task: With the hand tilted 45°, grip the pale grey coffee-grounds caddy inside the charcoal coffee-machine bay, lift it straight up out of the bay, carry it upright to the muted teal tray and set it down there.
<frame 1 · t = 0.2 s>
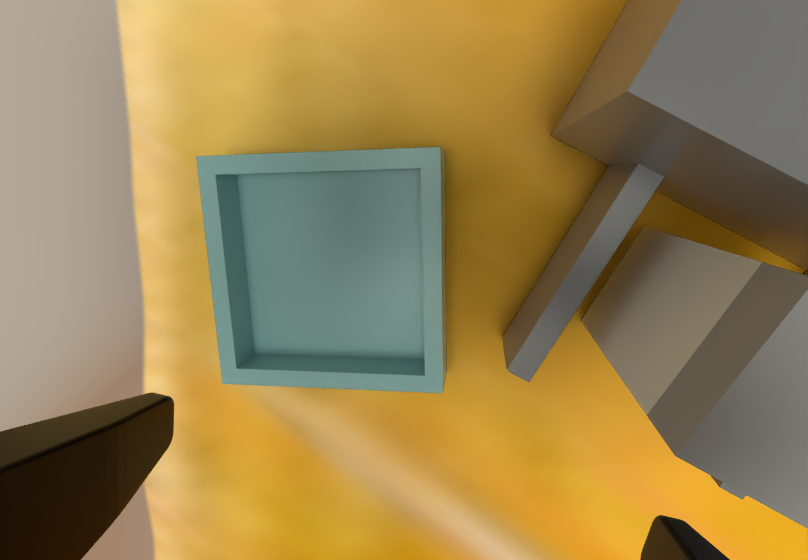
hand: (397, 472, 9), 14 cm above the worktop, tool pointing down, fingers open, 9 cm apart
grounds caddy: (661, 301, 21), on the worktop
teal tray: (337, 265, 23), on the worktop
coffee machine bay: (661, 301, 21), on the worktop
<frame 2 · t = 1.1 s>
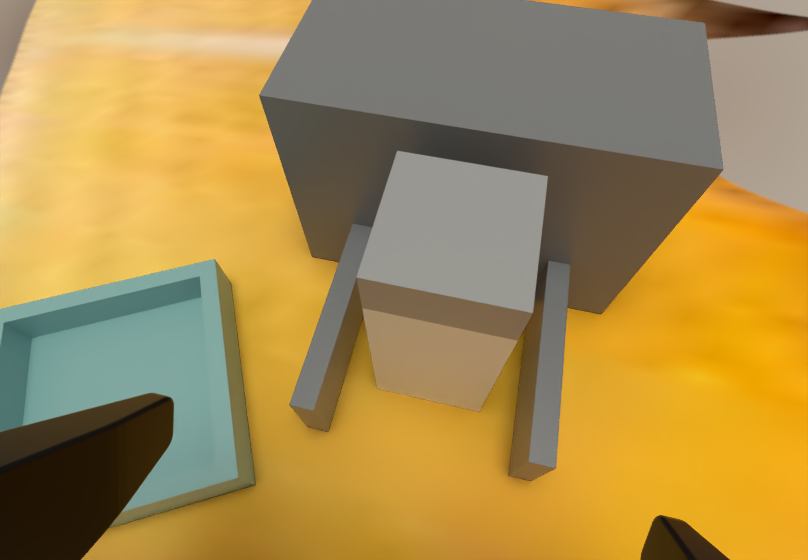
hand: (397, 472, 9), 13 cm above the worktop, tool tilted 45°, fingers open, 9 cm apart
grounds caddy: (437, 352, 24), on the worktop
teal tray: (131, 402, 23), on the worktop
coffee machine bay: (437, 352, 24), on the worktop
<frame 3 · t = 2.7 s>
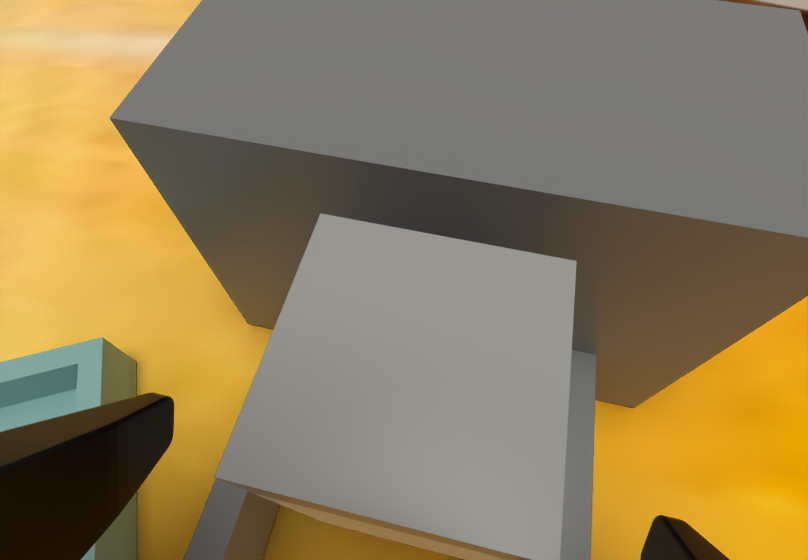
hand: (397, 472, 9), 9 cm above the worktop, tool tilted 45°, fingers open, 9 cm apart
grounds caddy: (410, 465, 17), on the worktop
coffee machine bay: (410, 465, 17), on the worktop
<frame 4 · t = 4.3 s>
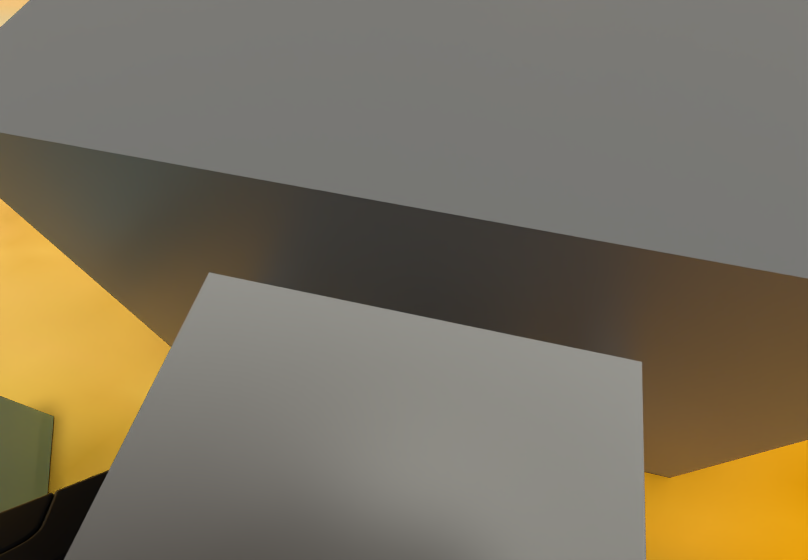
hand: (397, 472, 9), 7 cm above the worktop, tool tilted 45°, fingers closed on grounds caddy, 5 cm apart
grounds caddy: (389, 555, 14), on the worktop, touching gripper
coffee machine bay: (389, 555, 14), on the worktop
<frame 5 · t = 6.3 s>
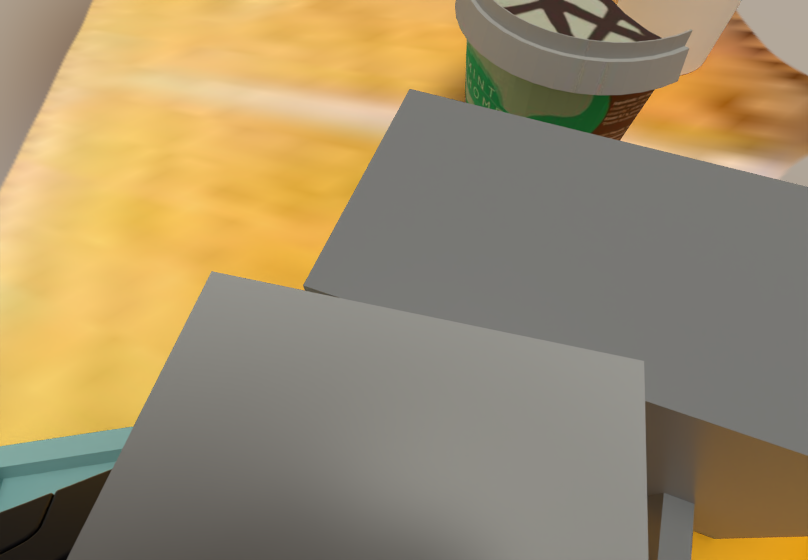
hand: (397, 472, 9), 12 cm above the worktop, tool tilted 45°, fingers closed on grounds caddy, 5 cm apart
grounds caddy: (390, 554, 14), point 6 cm above the worktop, touching gripper
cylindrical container: (653, 46, 35), on the worktop
food container: (501, 155, 29), on the worktop
when the fingers open (9 cm above the worktop, at t = 8.5 s): grounds caddy drops 1 cm, resting on teal tray.
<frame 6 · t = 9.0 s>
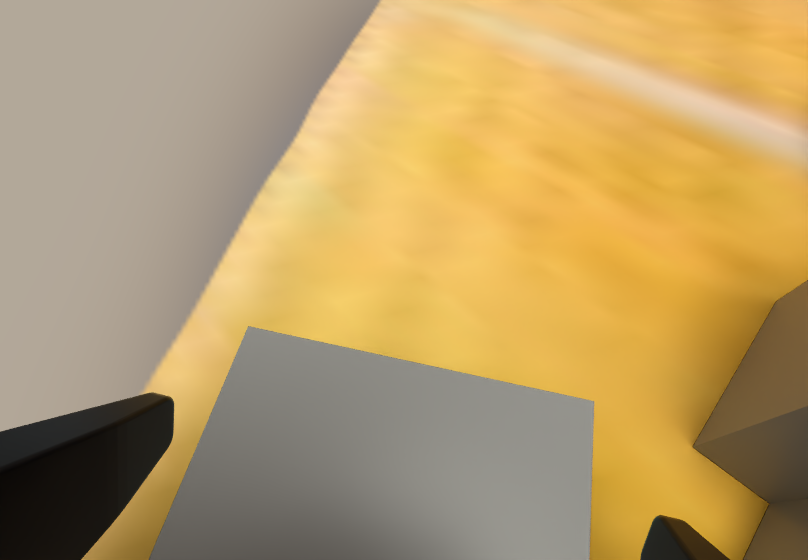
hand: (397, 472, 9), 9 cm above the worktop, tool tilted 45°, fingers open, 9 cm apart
grounds caddy: (391, 554, 15), point 1 cm above the worktop, touching teal tray
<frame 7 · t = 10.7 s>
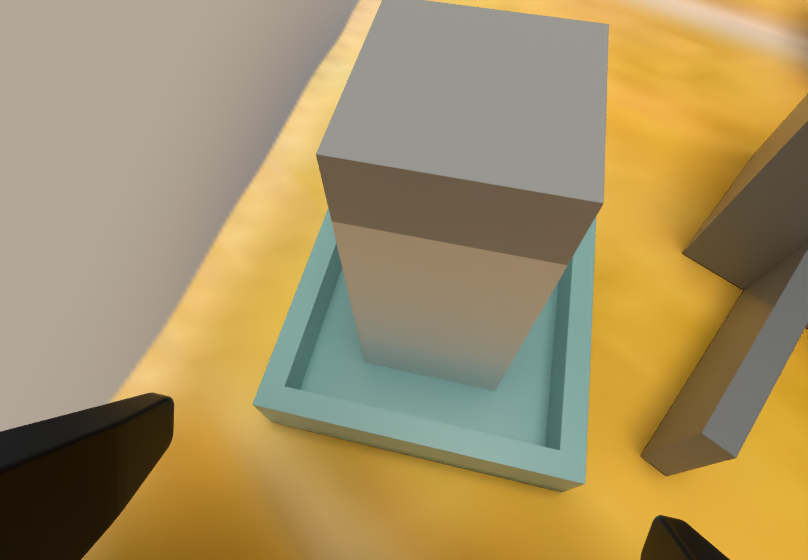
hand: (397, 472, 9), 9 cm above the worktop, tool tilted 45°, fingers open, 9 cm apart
grounds caddy: (440, 317, 19), point 1 cm above the worktop, touching teal tray
teal tray: (439, 323, 19), on the worktop
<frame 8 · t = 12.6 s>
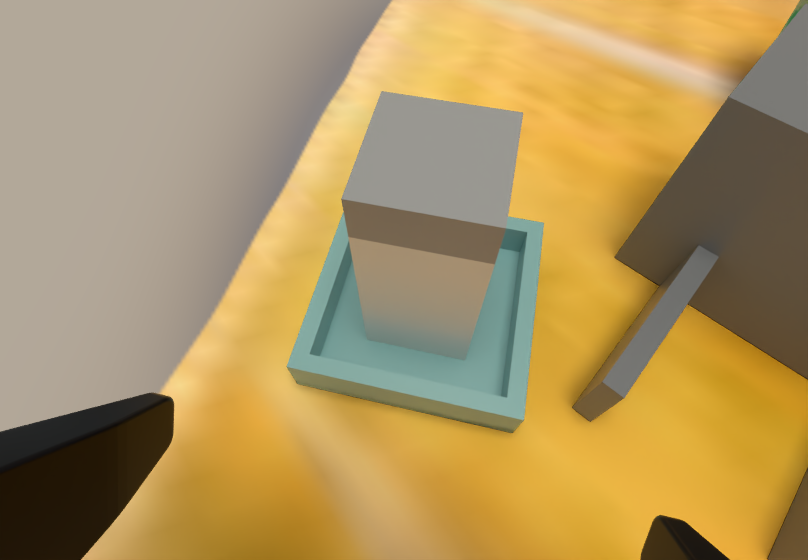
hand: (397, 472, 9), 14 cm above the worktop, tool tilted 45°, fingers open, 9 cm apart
grounds caddy: (425, 306, 25), point 1 cm above the worktop, touching teal tray
teal tray: (424, 311, 25), on the worktop
coffee machine bay: (720, 402, 23), on the worktop
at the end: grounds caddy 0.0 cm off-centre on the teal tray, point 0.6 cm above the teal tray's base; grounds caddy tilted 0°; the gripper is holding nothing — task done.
